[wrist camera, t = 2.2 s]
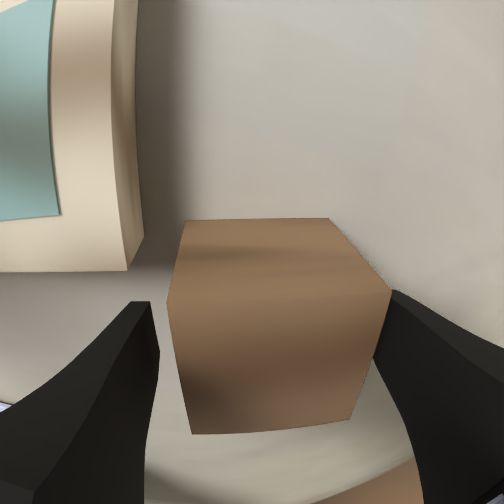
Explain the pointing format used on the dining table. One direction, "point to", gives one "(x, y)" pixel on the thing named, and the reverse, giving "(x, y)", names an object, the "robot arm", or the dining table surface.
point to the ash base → (68, 136)
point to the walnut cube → (272, 323)
